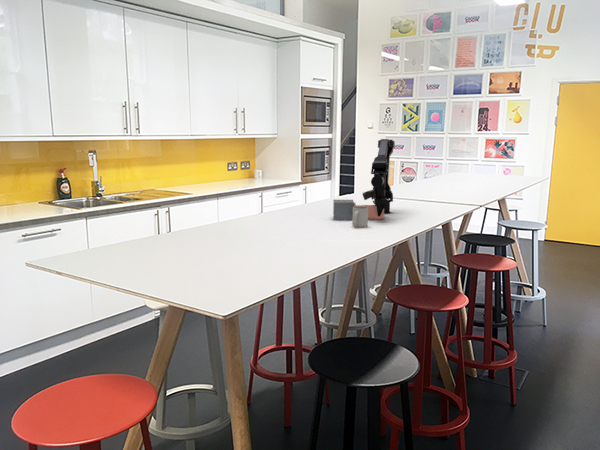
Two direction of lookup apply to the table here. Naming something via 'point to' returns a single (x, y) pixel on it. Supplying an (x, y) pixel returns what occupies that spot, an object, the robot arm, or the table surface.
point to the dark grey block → (343, 209)
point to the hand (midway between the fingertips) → (378, 215)
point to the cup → (360, 216)
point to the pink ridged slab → (373, 212)
